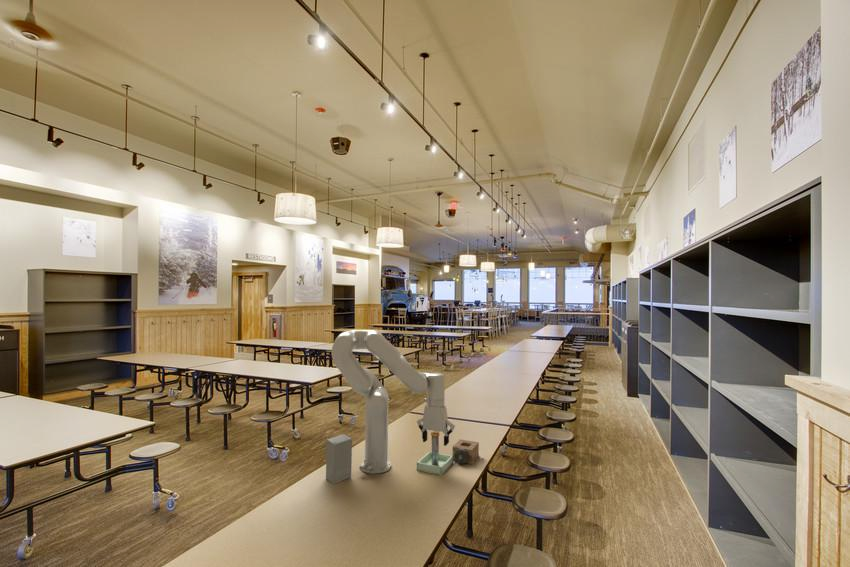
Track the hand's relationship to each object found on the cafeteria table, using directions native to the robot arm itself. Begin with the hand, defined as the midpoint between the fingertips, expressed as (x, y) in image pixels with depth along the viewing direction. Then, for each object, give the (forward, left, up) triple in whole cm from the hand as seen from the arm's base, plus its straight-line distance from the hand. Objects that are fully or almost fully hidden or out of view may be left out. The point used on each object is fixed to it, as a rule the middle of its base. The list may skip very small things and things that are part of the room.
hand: (435, 442), depth 164 cm
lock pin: (0, 0, -9) cm, 9 cm away
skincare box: (-27, +30, -10) cm, 42 cm away
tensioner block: (+13, -9, -10) cm, 18 cm away
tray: (0, 0, -10) cm, 10 cm away
